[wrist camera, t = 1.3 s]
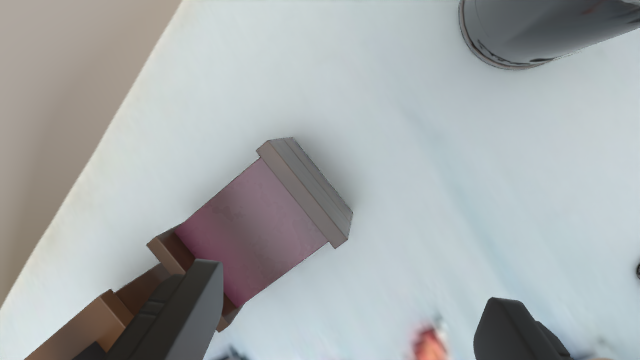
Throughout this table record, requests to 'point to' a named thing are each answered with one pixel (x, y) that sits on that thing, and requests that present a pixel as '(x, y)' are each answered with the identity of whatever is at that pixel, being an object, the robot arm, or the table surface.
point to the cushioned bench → (299, 190)
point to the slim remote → (91, 353)
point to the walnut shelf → (101, 318)
